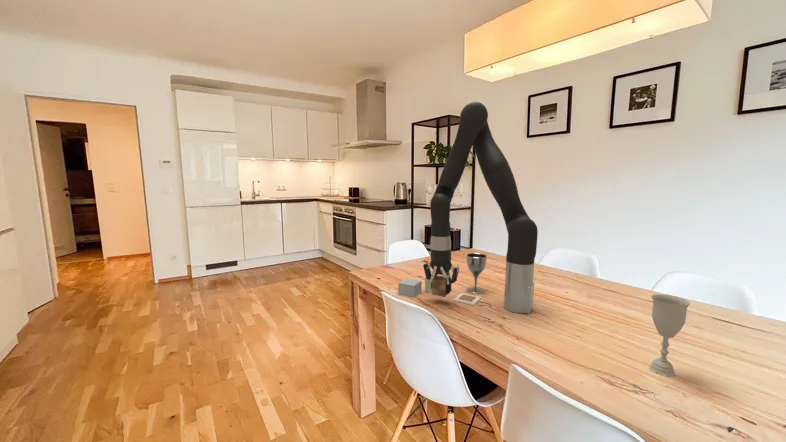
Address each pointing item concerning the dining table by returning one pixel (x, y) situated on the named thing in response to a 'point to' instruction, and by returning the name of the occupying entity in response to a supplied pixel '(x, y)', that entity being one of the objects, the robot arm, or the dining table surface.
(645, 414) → the dining table surface
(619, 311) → the dining table surface
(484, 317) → the dining table surface
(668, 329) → the chalice
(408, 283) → the grey base block
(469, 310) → the dining table surface
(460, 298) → the tile
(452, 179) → the robot arm
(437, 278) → the walnut block
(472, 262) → the wine glass
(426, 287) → the sage block
